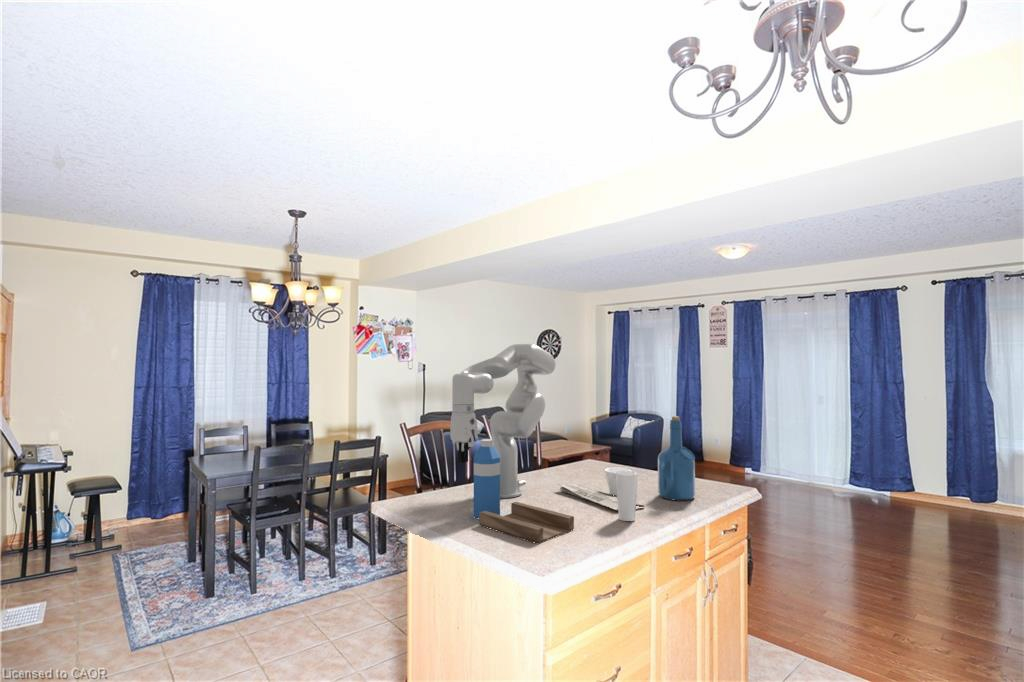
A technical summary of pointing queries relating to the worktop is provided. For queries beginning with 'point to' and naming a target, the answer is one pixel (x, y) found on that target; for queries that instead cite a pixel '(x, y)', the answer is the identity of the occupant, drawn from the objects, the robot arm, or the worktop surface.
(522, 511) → the u rest
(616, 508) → the newspaper
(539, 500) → the worktop surface
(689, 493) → the wine bottle
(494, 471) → the water bottle
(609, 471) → the cup
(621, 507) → the drinking glass
